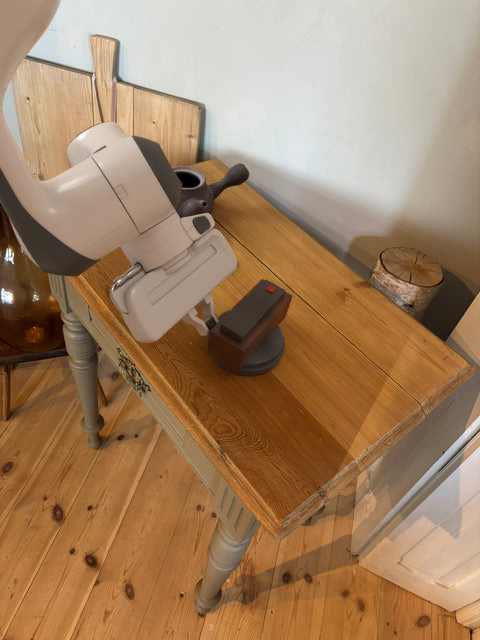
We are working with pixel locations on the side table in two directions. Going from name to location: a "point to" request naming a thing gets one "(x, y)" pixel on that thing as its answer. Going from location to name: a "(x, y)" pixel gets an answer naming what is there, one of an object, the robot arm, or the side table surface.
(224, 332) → the remote caddy
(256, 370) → the turntable base
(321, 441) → the side table surface
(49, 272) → the robot arm
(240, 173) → the teapot
